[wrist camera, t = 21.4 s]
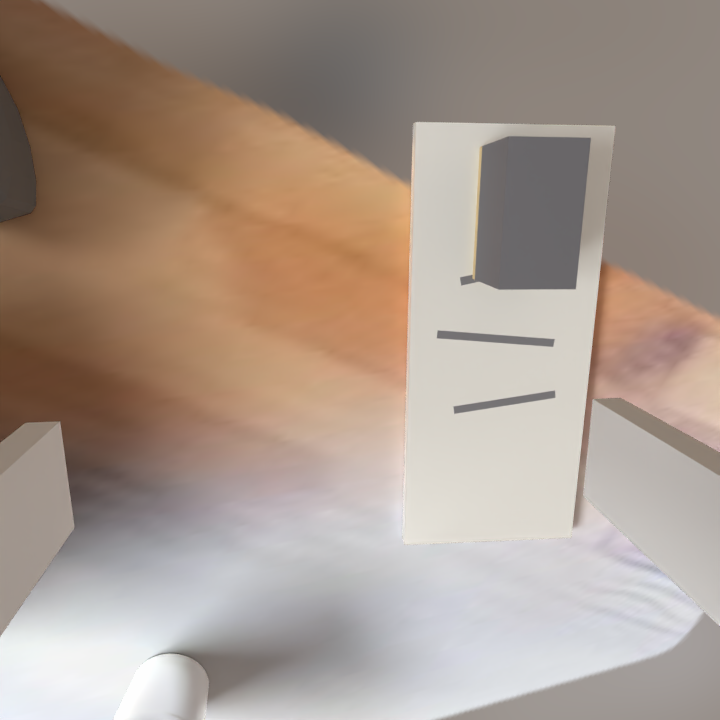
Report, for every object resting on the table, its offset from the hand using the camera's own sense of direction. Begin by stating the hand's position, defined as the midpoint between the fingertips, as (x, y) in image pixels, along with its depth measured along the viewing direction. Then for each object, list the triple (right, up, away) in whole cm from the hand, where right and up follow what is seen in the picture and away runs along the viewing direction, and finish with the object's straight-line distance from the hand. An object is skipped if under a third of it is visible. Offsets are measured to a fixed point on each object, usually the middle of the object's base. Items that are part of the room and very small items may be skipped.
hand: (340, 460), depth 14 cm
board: (+11, +3, +30) cm, 33 cm away
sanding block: (+11, +13, +27) cm, 32 cm away
